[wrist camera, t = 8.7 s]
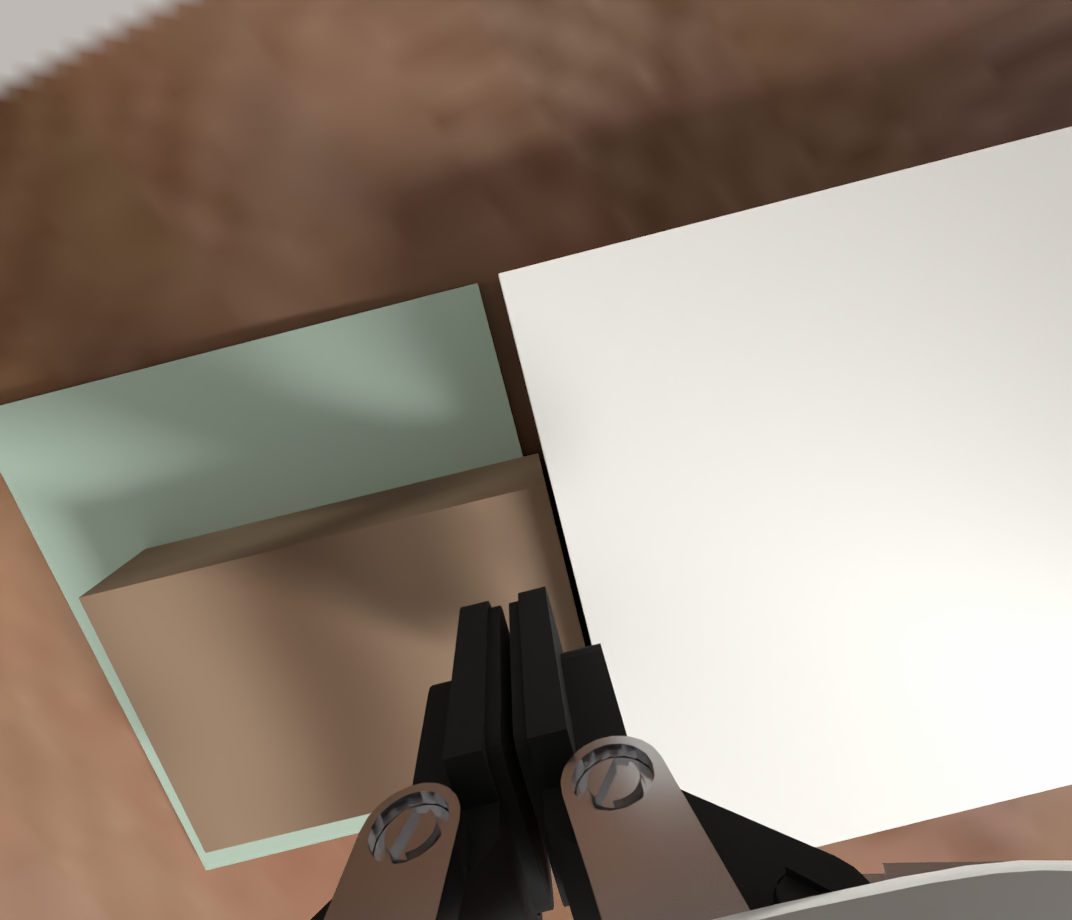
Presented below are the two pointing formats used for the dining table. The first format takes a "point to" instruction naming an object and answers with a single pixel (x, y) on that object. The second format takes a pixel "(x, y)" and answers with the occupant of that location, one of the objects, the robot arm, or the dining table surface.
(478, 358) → the mat
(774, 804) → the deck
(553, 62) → the dining table surface
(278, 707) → the walnut tile
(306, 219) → the dining table surface
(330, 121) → the dining table surface
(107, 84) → the dining table surface
